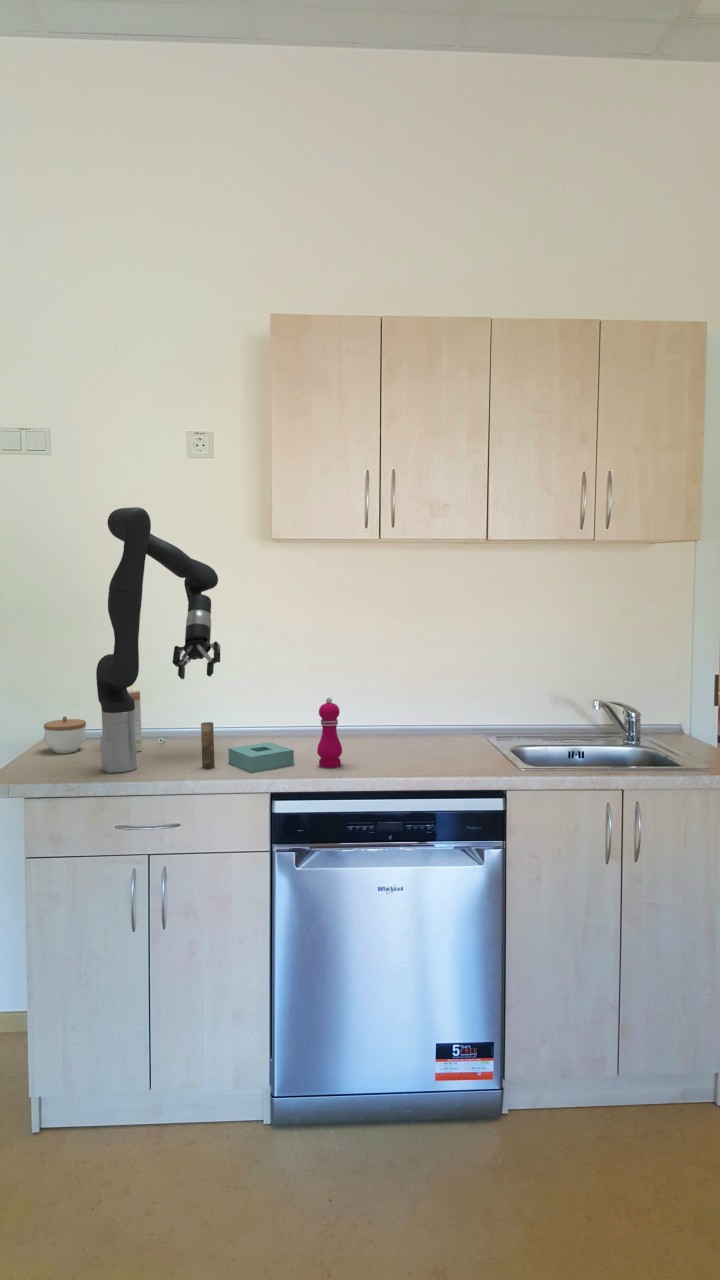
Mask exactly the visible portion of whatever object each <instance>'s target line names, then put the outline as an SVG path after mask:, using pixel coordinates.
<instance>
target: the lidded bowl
mask: <svg viewBox="0 0 720 1280" xmlns="http://www.w3.org/2000/svg"><path fill="white" fill-rule="evenodd" d="M86 726H87V721H86V720H84V719H79V718H69V719H68V716H63V717H62V719H57V720H51V721H48V722H45V723H44V724H43V729H44V738H45V741H46V742H45V743H46V744H47V746H48V747H49V748H50V749H51V750H52V751H53V752H54V753H56V754H70V753H76V752H78V751H79V749H80V748H81V746H82V745H83V744H84V742H85V740H86V733H87V731H86V729H87V727H86Z"/></svg>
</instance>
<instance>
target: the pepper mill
mask: <svg viewBox="0 0 720 1280" xmlns="http://www.w3.org/2000/svg"><path fill="white" fill-rule="evenodd" d="M340 714H341V713H340V707H339V706H338V705H337V704H336V703H333V699H332V698H331V697H327V698H326V699H325V703H322V704H321V705H320V707H319V709H318V715H319V717H320V718H321V719H320V725H321V727H322V728H321V729H322V731H321V732H322V733H321V737H320V740H319V742H318V745H317V750H316V751H317V754H318V756H319V757H320V758H319V760H318V766H319V767H320V768H323V767H324V769H335V767H336V768H339V767H341V765H342V763H341V762H342V761H341V760H342V759H340V757H341V756H342V754H343V747H342V744H341V742H340V739H339V737H338V732H337V726H338V724H339V720H338V717H339V716H340Z"/></svg>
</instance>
